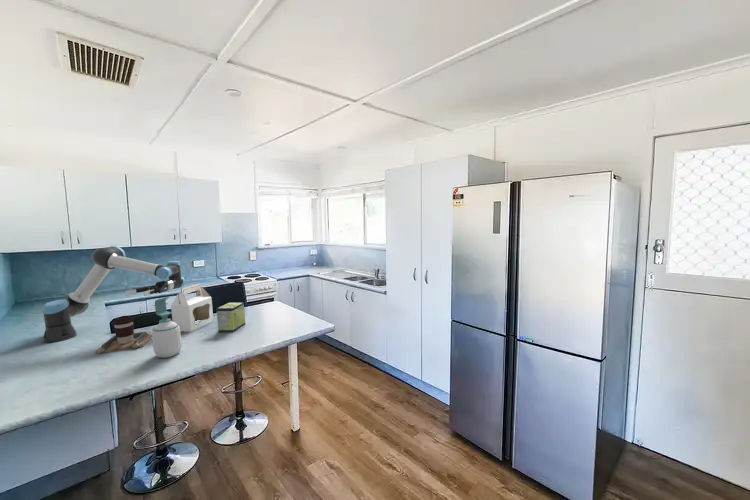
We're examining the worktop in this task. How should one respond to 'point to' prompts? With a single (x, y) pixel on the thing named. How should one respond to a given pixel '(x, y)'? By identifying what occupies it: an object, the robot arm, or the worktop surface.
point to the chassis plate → (113, 345)
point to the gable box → (192, 308)
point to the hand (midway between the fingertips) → (135, 293)
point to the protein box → (230, 317)
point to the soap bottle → (165, 333)
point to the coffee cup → (124, 329)
